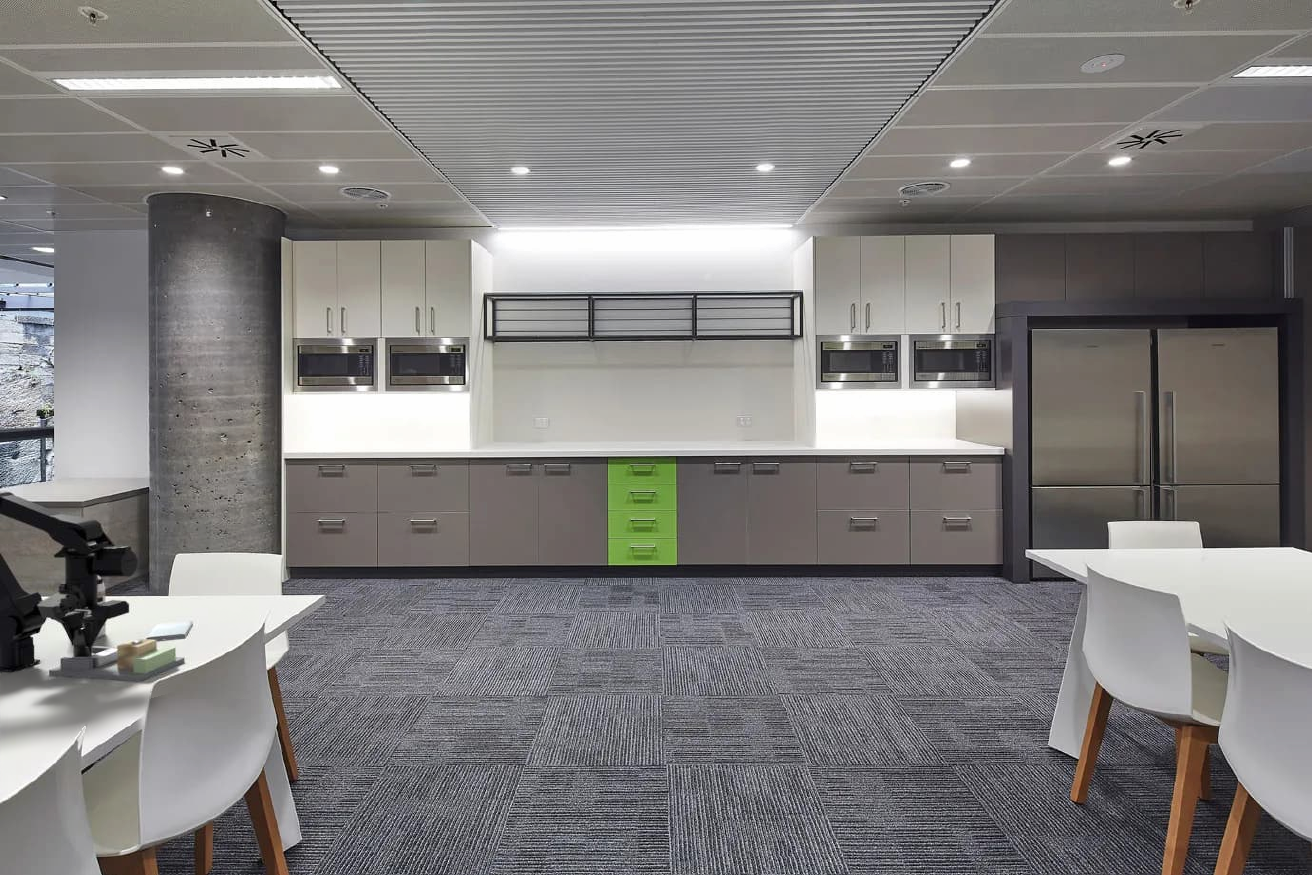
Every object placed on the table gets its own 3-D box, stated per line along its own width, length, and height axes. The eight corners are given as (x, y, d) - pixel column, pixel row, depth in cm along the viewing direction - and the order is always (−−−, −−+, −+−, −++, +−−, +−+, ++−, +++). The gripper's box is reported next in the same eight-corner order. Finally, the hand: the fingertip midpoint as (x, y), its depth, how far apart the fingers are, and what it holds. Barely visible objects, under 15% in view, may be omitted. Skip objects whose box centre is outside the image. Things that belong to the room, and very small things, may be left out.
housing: (117, 668, 157) (117, 644, 157) (136, 660, 162) (136, 637, 162) (137, 669, 157) (137, 645, 157) (156, 661, 162) (156, 638, 161)
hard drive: (185, 633, 182) (192, 619, 193) (145, 637, 178) (156, 623, 190) (185, 640, 182) (192, 626, 193) (146, 644, 178) (156, 629, 190)
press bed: (48, 674, 156) (48, 656, 155) (98, 656, 168) (98, 639, 167) (140, 681, 153) (140, 662, 153) (184, 661, 165) (184, 644, 165)
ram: (63, 664, 158) (63, 631, 158) (88, 655, 164) (88, 623, 164) (98, 666, 157) (98, 633, 157) (122, 657, 163) (121, 625, 163)
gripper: (8, 583, 154) (9, 655, 154) (85, 587, 151) (86, 660, 152) (57, 571, 165) (58, 639, 165) (130, 575, 162) (131, 643, 163)
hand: (82, 645), depth 161 cm, fingers closed on ram, 3 cm apart
